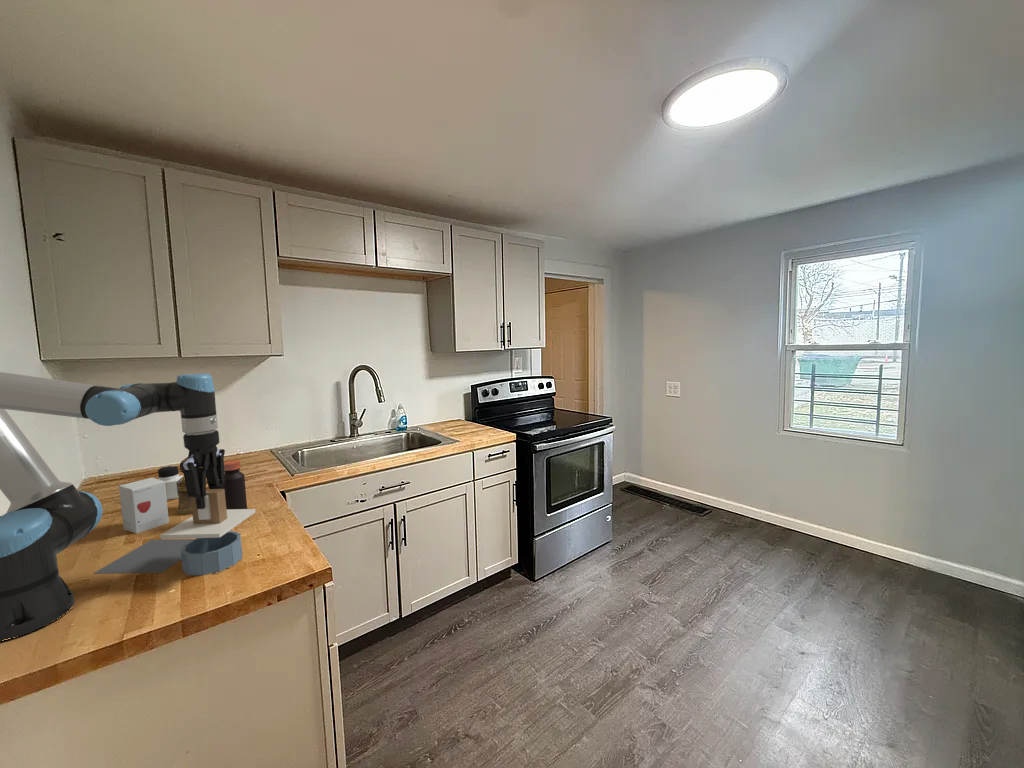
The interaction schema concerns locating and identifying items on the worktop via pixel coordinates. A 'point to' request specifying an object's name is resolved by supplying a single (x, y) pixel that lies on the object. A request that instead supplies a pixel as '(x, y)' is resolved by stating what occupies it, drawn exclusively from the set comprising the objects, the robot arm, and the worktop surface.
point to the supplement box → (143, 505)
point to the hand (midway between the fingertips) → (210, 515)
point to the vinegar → (234, 486)
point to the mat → (148, 557)
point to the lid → (212, 527)
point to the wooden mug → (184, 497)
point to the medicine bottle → (170, 480)
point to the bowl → (211, 554)
